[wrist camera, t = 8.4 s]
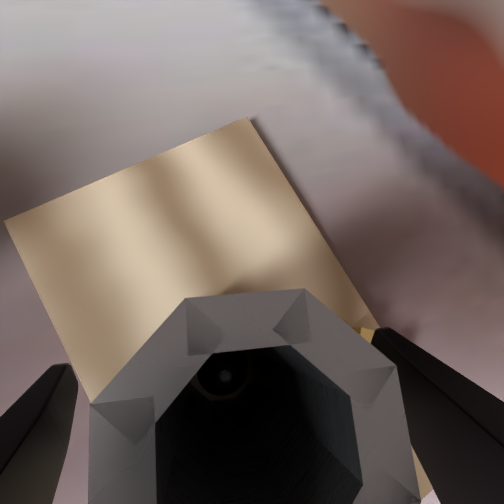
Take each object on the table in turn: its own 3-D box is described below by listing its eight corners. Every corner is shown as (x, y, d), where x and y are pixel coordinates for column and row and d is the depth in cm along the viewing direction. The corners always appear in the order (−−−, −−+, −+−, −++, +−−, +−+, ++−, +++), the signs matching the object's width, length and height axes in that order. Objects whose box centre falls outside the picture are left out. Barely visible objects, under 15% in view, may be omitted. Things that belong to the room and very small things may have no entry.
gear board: (222, 664, 15) (223, 677, 15) (9, 224, 19) (3, 221, 18) (456, 457, 19) (464, 460, 19) (245, 122, 22) (247, 116, 22)
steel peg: (212, 405, 17) (214, 424, 14) (187, 358, 18) (183, 366, 14) (256, 376, 18) (268, 387, 15) (231, 332, 18) (237, 332, 15)
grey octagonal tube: (293, 429, 18) (512, 674, 5) (154, 450, 16) (-4, 837, 4) (278, 294, 19) (415, 231, 7) (150, 305, 18) (30, 252, 6)
